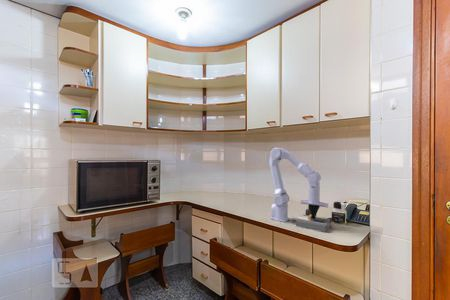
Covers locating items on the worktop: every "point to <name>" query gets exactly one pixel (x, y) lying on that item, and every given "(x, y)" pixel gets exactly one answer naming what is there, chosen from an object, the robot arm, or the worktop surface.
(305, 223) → the socket
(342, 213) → the medicine bottle
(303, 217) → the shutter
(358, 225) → the worktop surface
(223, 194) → the worktop surface
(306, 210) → the plug
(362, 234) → the worktop surface
